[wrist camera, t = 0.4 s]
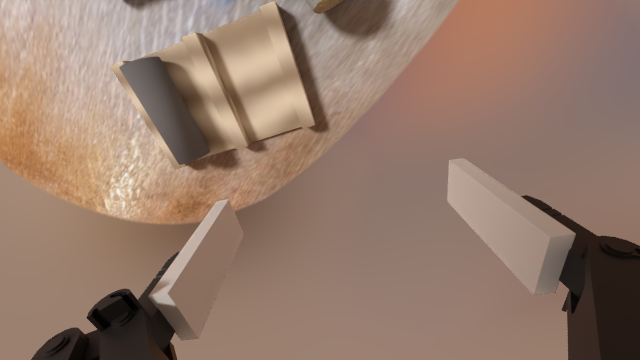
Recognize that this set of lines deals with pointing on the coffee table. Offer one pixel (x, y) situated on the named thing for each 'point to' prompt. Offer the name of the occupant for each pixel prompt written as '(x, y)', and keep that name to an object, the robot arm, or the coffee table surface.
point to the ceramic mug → (322, 5)
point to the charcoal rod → (165, 108)
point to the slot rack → (235, 82)
